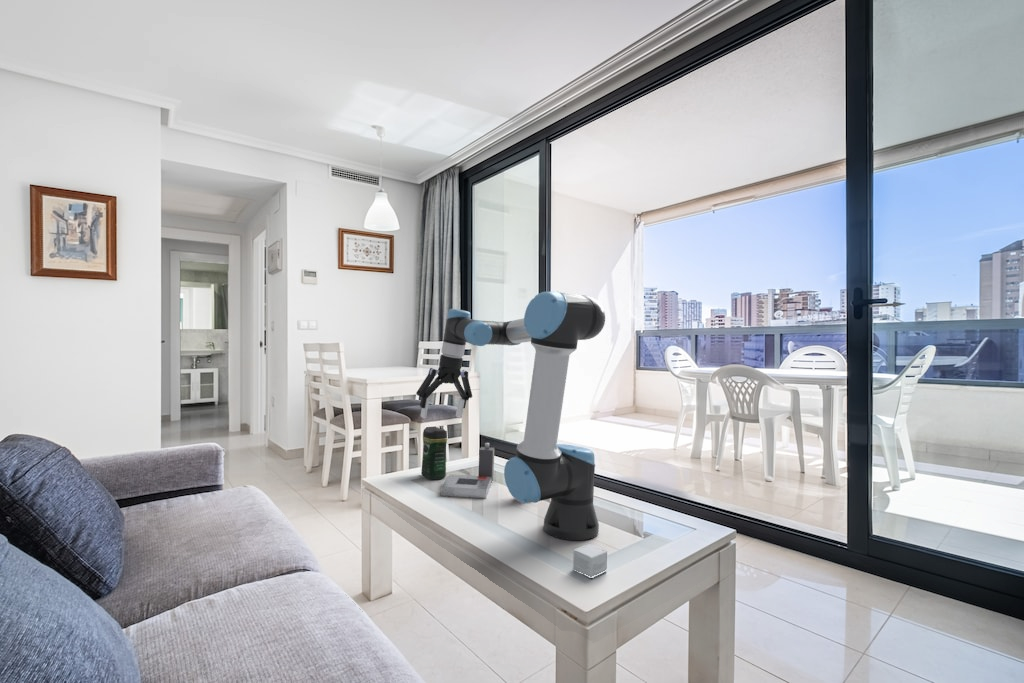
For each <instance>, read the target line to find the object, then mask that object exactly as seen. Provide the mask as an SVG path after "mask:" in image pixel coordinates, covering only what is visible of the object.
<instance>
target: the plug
mask: <svg viewBox="0 0 1024 683" xmlns="http://www.w3.org/2000/svg"><path fill="white" fill-rule="evenodd" d="M478 451H479V452H478V455H479V456H478V474H477V476H487V477H492V478H491V483H492V484H493V482H494V472H495V471H494V468H495V447H492V446H491V447H490V442H485V443H484V446H481V447H480V448H479V450H478ZM492 481H493V482H492Z"/></svg>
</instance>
